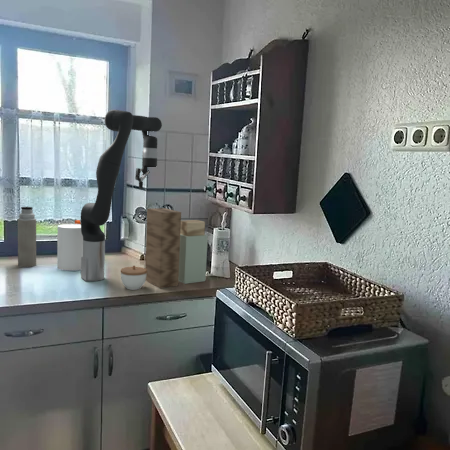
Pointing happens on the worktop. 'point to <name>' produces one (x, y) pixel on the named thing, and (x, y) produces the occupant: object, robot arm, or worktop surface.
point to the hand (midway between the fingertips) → (148, 189)
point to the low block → (192, 258)
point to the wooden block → (192, 228)
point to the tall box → (163, 247)
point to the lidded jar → (133, 277)
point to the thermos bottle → (26, 238)
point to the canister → (69, 247)
